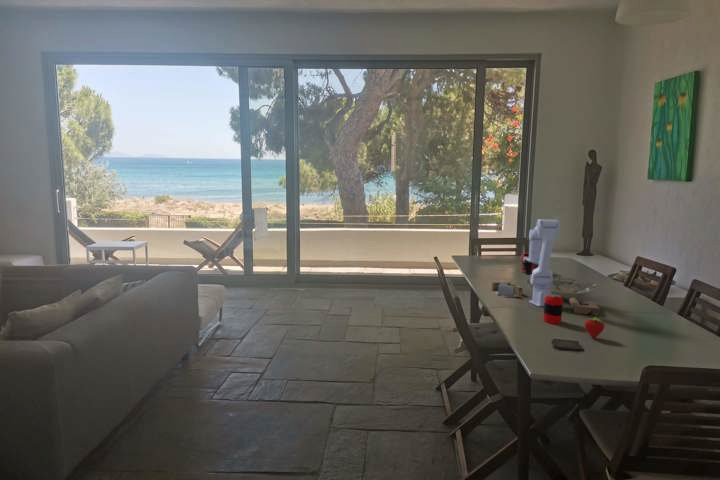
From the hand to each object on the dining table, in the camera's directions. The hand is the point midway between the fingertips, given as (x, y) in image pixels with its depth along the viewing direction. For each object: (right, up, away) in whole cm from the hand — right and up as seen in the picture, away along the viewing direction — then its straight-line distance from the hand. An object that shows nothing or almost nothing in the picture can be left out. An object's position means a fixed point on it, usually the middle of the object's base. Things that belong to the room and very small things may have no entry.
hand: (532, 276), depth 266 cm
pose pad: (-15, -10, -1) cm, 18 cm away
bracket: (-15, -10, -1) cm, 18 cm away
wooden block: (+13, -14, -35) cm, 40 cm away
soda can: (-8, -17, -46) cm, 50 cm away
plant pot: (+19, -2, +57) cm, 60 cm away
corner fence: (-13, -10, +2) cm, 16 cm away
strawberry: (+1, -21, -67) cm, 70 cm away
